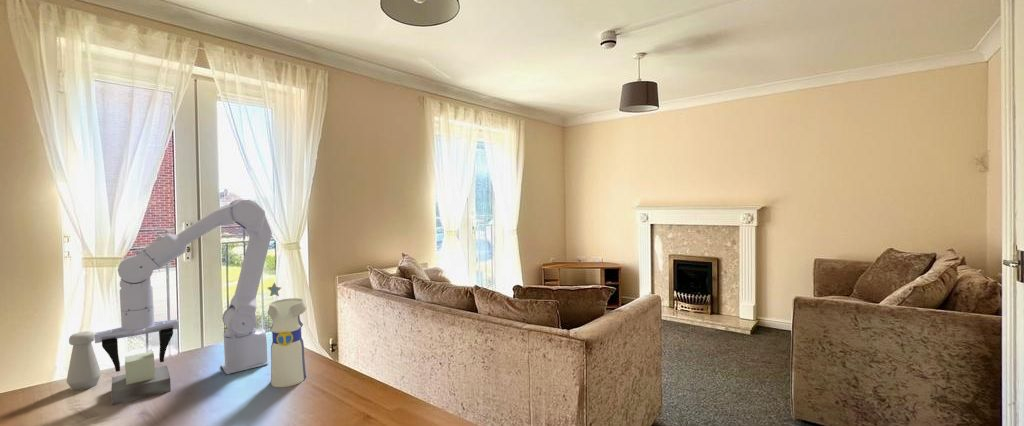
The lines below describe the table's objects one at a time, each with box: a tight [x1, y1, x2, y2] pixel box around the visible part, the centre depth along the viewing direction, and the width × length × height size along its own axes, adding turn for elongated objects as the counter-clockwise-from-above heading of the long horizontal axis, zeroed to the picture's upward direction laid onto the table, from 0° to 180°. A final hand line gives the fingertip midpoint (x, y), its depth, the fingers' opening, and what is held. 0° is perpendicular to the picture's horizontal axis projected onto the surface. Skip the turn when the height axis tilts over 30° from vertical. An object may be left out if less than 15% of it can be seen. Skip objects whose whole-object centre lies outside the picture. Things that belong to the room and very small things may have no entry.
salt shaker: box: [66, 330, 102, 391], centre depth 102 cm, size 6×6×13 cm
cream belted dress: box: [267, 282, 308, 388], centre depth 104 cm, size 8×9×25 cm
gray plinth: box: [110, 365, 172, 406], centre depth 100 cm, size 10×10×3 cm
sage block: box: [124, 351, 156, 385], centre depth 99 cm, size 5×5×5 cm
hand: (140, 365), depth 100 cm, fingers open, 7 cm apart
